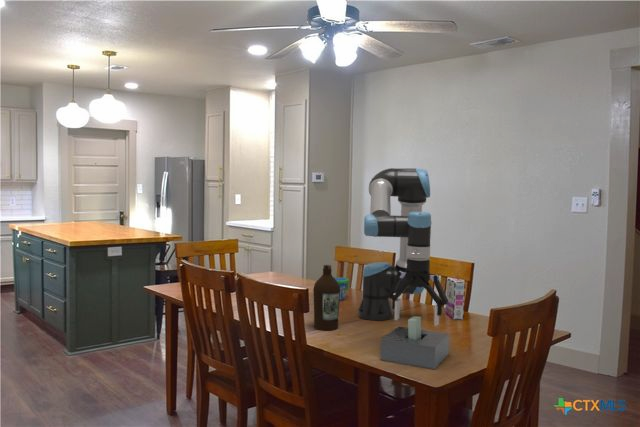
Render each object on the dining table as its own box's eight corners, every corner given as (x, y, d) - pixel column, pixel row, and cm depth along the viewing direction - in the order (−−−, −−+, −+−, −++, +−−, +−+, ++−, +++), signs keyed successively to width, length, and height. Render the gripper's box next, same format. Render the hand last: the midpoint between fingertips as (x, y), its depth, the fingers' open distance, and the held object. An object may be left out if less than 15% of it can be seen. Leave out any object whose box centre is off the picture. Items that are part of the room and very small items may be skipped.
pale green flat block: (408, 356, 179) (408, 320, 178) (414, 351, 184) (413, 316, 184) (416, 357, 178) (415, 320, 177) (421, 352, 183) (420, 316, 182)
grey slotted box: (380, 359, 177) (380, 338, 177) (398, 345, 193) (399, 326, 193) (434, 369, 169) (435, 347, 168) (448, 353, 185) (449, 333, 184)
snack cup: (340, 295, 279) (341, 275, 278) (355, 298, 271) (356, 278, 271) (318, 299, 268) (319, 278, 267) (334, 303, 260) (334, 282, 260)
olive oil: (308, 325, 218) (309, 263, 216) (332, 323, 222) (333, 262, 221) (319, 332, 208) (320, 267, 207) (344, 329, 213) (345, 266, 211)
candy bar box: (464, 320, 232) (465, 282, 231) (453, 320, 232) (454, 282, 231) (455, 313, 243) (457, 277, 242) (444, 313, 243) (446, 277, 242)
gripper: (378, 256, 181) (377, 319, 183) (453, 263, 170) (450, 330, 171) (386, 254, 188) (385, 314, 189) (458, 260, 177) (456, 324, 178)
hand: (416, 322), depth 180 cm, fingers open, 13 cm apart
